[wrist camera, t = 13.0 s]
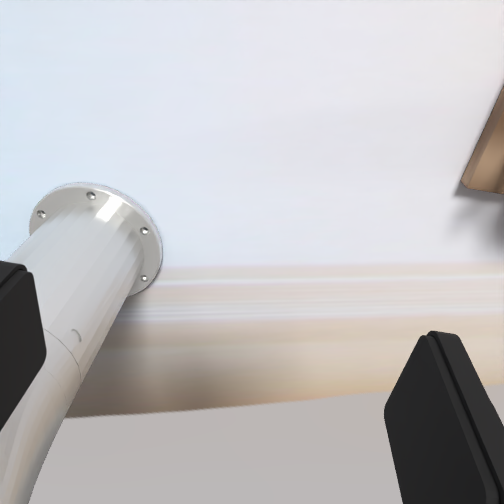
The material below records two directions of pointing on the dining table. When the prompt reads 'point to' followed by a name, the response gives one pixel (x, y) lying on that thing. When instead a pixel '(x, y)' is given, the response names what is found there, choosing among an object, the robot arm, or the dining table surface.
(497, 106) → the collar stand
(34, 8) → the dining table surface
